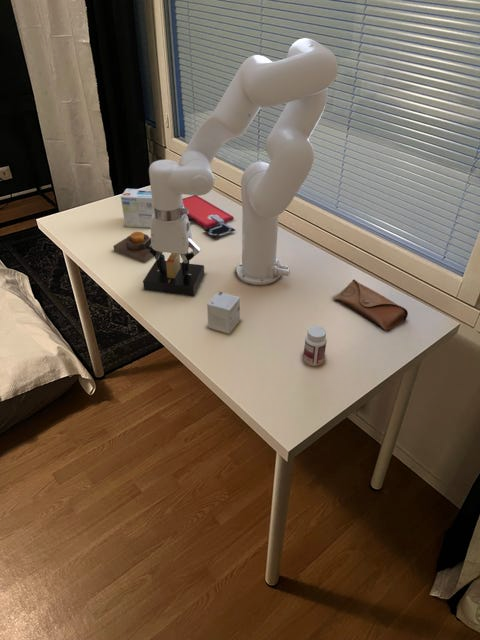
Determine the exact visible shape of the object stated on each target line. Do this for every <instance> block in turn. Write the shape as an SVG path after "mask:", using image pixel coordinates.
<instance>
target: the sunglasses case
mask: <svg viewBox="0 0 480 640" xmlns="http://www.w3.org/2000/svg"><path fill="white" fill-rule="evenodd" d="M333 299H334V300H335V301H336V302H338V303H340V304H342V305H345V306H346V307H347V308H348V309H351V310H352V311H353V312H355V313H357V314H359V315H361V317H363V318H365V319H367V320H368V321H370V322H371V323H373V324H374V325H376V326H378V327H379V328H381V329H383V330H384V331H389V330H392V329H394V328H396V327H398V326H400V325H402V324H403V323H404V322H405V321H406V320H407V318H408V316H409V312H408V310H407V309H406V308H405V307H403V306H402V305H398V304H397V303H395V302H394V301H392V300H391V299H389V298H387V297H385V296H384V295H382V294H380V293H378V292H377V291H375V290H373V289H372V288H370V287H368V286H366V285H363V284H362V283H360V282H359V281H357V280H356V279H354V278H353V279H352V281H350V283H348V284H347V286H346V287H345V288H344V289H343V290H342V291H341V292H340V293H339V294H338V295H337V296H335V297H334V298H333Z"/></svg>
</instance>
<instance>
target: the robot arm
mask: <svg viewBox="0 0 480 640" xmlns="http://www.w3.org/2000/svg"><path fill="white" fill-rule="evenodd" d="M338 71H339V64H338V60H337V57H336V55H335V53H334V52H333V51H331V50H330V48H328V47H326V46H325V45H323V44H321V43H320V42H318V41H316V40H314V39H311V38H307V37H306V38H305V37H303V38H299V39H297V40H296V41H294V42H293V43H292V45H291V46H290V47H289V49H288V52H287V56H286V58H283V59H279V60H275V61H272V60H271V59H269V58H268V57H266V56H264V55H260V54H254V55H251V56H248V57H247V58H246V59H245V60H244V61H243V62H242V63H241V65H240V67H239V68H238V69H237V71H236V73H235V75H234V76H233V78H232V80H231V82H230V83H229V85H228V87H227V89H225V91H224V93H223V95H222V96H221V99H220V100H219V102H218V103H217V105H216V107H215V109H214V110H213V112H212V113H211V114H210V115H209V116H208V117H207V118H206V119H205V120H204V121H203V123H202V124H201V125H200V126H199V127H198V128H197V129H196V131H195V132H194V134H193V135H192V137H191V138H190V140H189V142H188V144H187V145H186V147H185V149H184V150H183V153H182V154H181V156H180V158H179V163H178V162H177V161H175V160H172V159H158V160H155V161H153V162H152V163H151V164H150V165H149V167H148V176H149V183H150V185H149V186H150V189H151V194H152V203H153V212H154V213H153V215H152V218H151V228H150V236H149V239H148V240H147V241H146V242H145V244H144V247H145V248H146V249H147V250H149V251H150V253H151V254H152V255H153V256H154V259H155V261H156V260H157V266H158V268H159V272H160V273H162V272H163V271H164V269H165V267H166V266H165V261H166V259H165V254H163V253H168V254H171V253H176V254H179V255H180V258H181V260H182V262H181V263H182V274H183V276H185V275H186V274H187V272H189V270H190V264H191V263H190V261H191V260H192V259H193V258H194V257H195V256H197V255H198V254H200V252H201V247H200V246H198V244H196V243H195V242H194V241H193V236H192V230H191V229H192V228H191V226H190V221H189V220H188V218H189V217H187V214H188V213H189V209H186V208H185V207H184V204H183V195H186V196H187V195H188V196H194V195H196V196H199V197H200V196H205V195H207V194H208V193H210V192H211V191H213V188H214V185H215V176H214V172H213V171H212V167H211V166H210V165H211V163H212V161H214V158H215V157H216V156H217V154H218V152H219V151H220V150H221V148H222V147H223V146H224V145H225V144H226V143H228V142H229V141H231V140H233V139H238V138H241V137H242V136H243V135H245V134H246V132H247V131H248V129H249V127H250V125H251V124H252V122H253V121H254V119H255V118H256V116H257V114H258V113H259V111H260V109H262V108H270V107H276V106H280V105H285V106H284V109H283V110H282V112H281V114H280V115H279V118H278V119H277V121H276V122H275V124H274V126H273V127H272V130H271V131H270V132H269V134H268V136H267V139H266V141H265V152H266V154H267V157H268V158H269V160H270V163H268V162H265V161H255V162H252V163H250V164H249V165H248V166H247V167H246V168H245V169H244V170H243V172H242V175H241V180H240V191H241V195H240V196H241V206H242V224H241V225H242V227H241V229H242V230H241V231H242V232H241V262H240V263H239V264H238V265H237V266H236V276H237V278H239V279H240V280H241V281H242V282H244V283H246V284H248V285H249V284H250V285H255V286H256V285H257V286H263V285H269V284H272V283H274V282H276V281H278V279H280V276H283V277H288V278H289V276H290V274H291V273H290V272H291V270H290V269H289V265H287V264H282V263H280V258H279V257H277V248H278V233H279V232H278V231H279V218H280V217H279V216H280V215H282V214H283V213H284V212H285V211H286V210H287V208H288V207H290V205H291V203H292V201H293V200H294V198H295V197H296V196H297V194H298V192H299V190H300V189H301V187H302V186H303V184H304V183H305V181H306V179H307V178H308V176H309V175H310V173H311V171H312V168H313V166H314V163H315V149H314V146H313V144H312V143H311V141H310V138H311V135H312V133H313V132H314V130H315V128H316V127H317V125H318V124H319V121H320V119H321V117H322V116H323V113H324V112H325V111H324V110H325V108H326V105H327V101H328V94H329V87H331V86H332V85H333V83H334V82H335V80H336V78H337V76H338ZM189 249H191V250H192V251H190V252H189Z"/></svg>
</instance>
